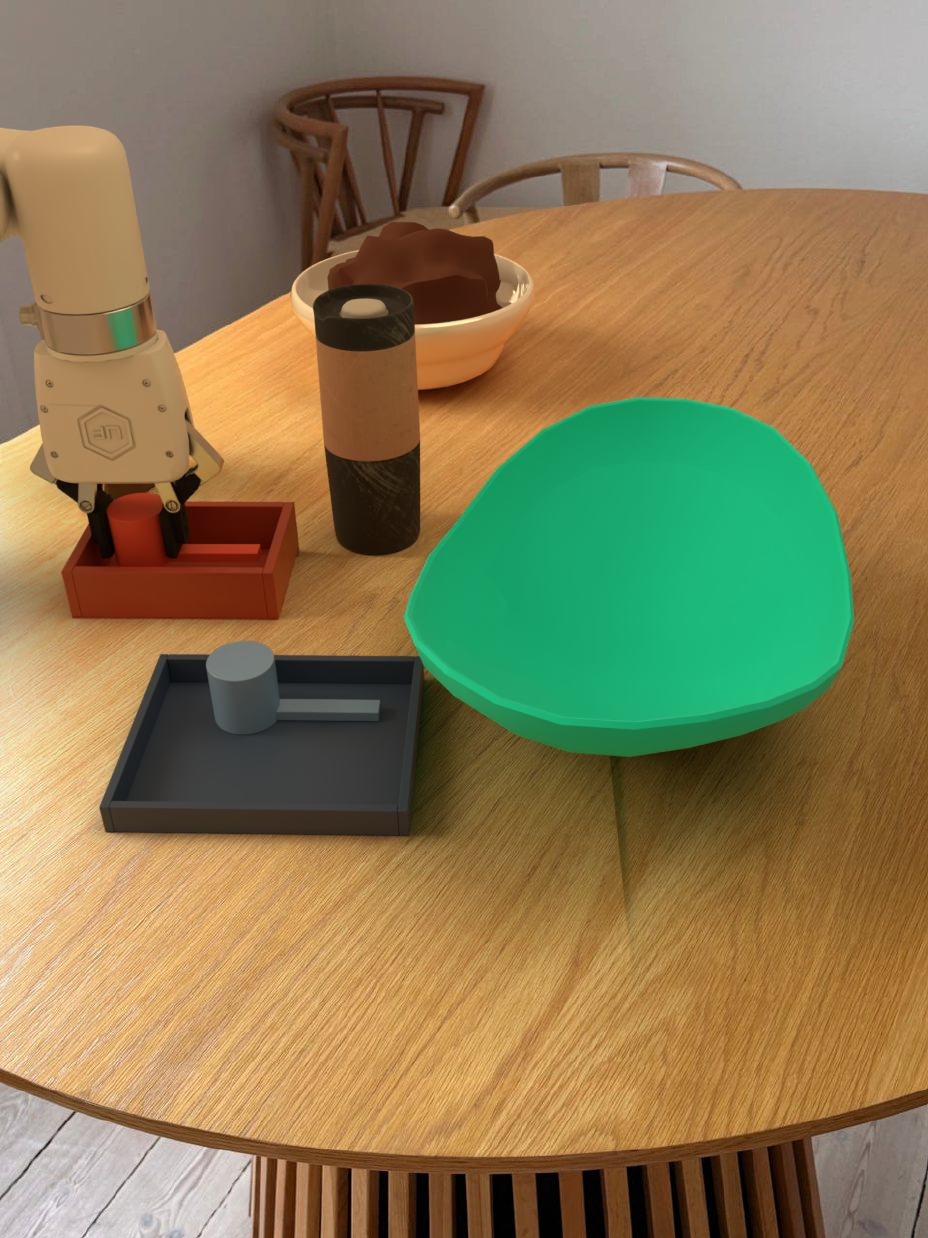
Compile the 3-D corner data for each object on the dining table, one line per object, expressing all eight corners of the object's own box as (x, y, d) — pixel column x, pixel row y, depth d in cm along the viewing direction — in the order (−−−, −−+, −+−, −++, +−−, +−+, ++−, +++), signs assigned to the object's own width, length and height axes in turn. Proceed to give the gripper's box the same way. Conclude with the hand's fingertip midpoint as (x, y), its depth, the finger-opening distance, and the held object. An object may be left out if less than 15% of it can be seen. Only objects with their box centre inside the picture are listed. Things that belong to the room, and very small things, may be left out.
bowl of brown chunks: (327, 436, 116) (314, 282, 108) (277, 342, 136) (263, 205, 127) (569, 399, 123) (575, 250, 114) (488, 314, 142) (488, 182, 134)
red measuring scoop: (110, 572, 92) (99, 521, 90) (125, 542, 96) (115, 492, 93) (255, 572, 92) (247, 521, 89) (264, 542, 96) (258, 492, 93)
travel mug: (435, 516, 103) (428, 287, 92) (406, 563, 97) (395, 323, 86) (351, 505, 105) (334, 278, 94) (317, 549, 99) (295, 313, 88)
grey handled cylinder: (208, 734, 80) (199, 680, 77) (221, 693, 83) (213, 639, 81) (377, 736, 79) (373, 682, 77) (383, 694, 83) (379, 641, 80)
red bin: (72, 622, 91) (60, 571, 89) (111, 548, 100) (101, 500, 97) (279, 623, 91) (272, 573, 88) (299, 549, 99) (294, 501, 97)
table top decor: (508, 524, 102) (509, 377, 95) (848, 573, 95) (878, 419, 88) (324, 852, 71) (304, 672, 64) (808, 962, 64) (849, 774, 57)
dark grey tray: (105, 836, 73) (98, 807, 71) (165, 681, 85) (160, 653, 84) (409, 840, 72) (407, 811, 71) (424, 683, 84) (423, 655, 83)
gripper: (-43, 343, 80) (20, 575, 91) (209, 341, 80) (243, 575, 90) (-4, 303, 87) (51, 525, 97) (231, 301, 86) (260, 524, 96)
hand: (143, 547), depth 93 cm, fingers closed on red measuring scoop, 4 cm apart
